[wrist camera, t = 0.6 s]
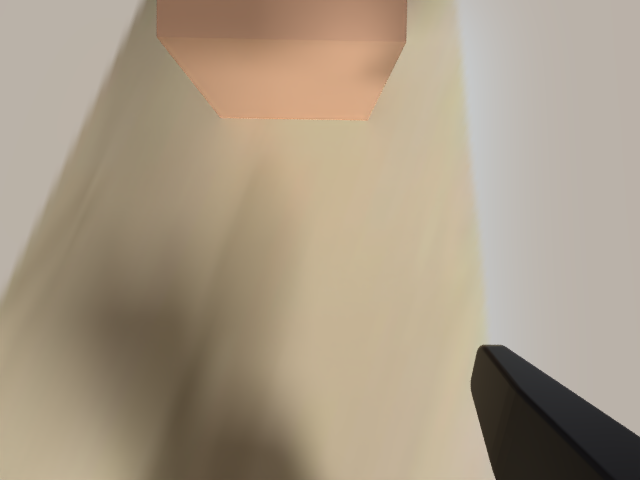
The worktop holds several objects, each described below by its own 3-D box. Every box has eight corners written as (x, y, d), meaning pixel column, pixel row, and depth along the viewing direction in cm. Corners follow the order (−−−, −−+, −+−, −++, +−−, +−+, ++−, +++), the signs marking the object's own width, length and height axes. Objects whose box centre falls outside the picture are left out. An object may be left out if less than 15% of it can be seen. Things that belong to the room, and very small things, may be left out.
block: (367, 120, 22) (406, 41, 13) (220, 117, 22) (156, 36, 13) (368, 75, 22) (407, -36, 13) (221, 72, 22) (157, -41, 13)
